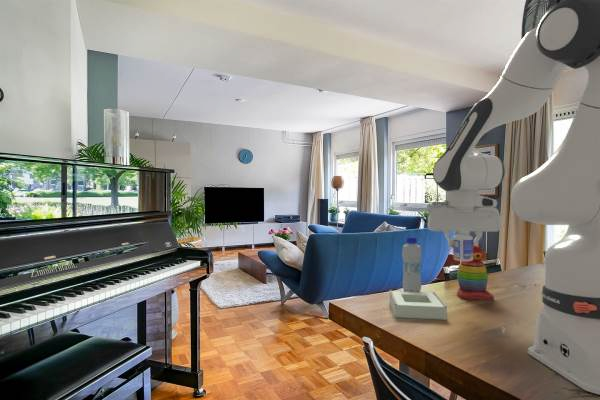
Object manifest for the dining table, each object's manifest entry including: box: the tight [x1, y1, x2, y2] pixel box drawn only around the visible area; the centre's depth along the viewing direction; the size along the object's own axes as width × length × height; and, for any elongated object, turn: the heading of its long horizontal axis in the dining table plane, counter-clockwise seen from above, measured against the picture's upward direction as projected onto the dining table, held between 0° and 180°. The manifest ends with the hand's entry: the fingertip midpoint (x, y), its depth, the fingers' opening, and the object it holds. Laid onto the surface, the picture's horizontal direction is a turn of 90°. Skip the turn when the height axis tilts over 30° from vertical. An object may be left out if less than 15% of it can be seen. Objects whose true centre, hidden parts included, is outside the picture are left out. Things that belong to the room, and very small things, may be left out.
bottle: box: [401, 236, 423, 292], centre depth 118 cm, size 7×7×20 cm
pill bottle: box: [452, 229, 474, 262], centre depth 101 cm, size 5×5×10 cm
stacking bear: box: [456, 243, 495, 301], centre depth 114 cm, size 11×10×18 cm
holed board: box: [389, 289, 448, 321], centre depth 100 cm, size 14×14×4 cm
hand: (462, 246), depth 101 cm, fingers closed on pill bottle, 5 cm apart
